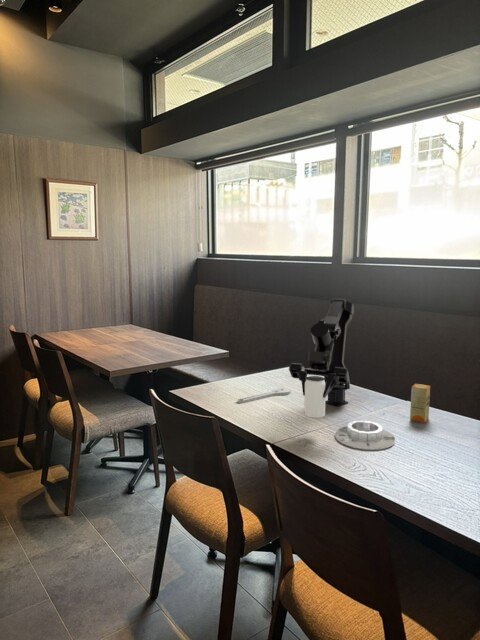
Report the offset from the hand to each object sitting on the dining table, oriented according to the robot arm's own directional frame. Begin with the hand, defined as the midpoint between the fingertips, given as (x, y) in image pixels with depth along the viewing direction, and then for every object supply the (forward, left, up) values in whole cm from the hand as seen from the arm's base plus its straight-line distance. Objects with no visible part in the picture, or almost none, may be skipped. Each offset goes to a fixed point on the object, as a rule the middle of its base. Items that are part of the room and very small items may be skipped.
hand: (313, 396), depth 148 cm
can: (-1, -1, -7) cm, 7 cm away
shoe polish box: (-39, +13, -13) cm, 43 cm away
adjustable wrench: (-15, -41, -14) cm, 45 cm away
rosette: (-11, +11, -13) cm, 21 cm away
